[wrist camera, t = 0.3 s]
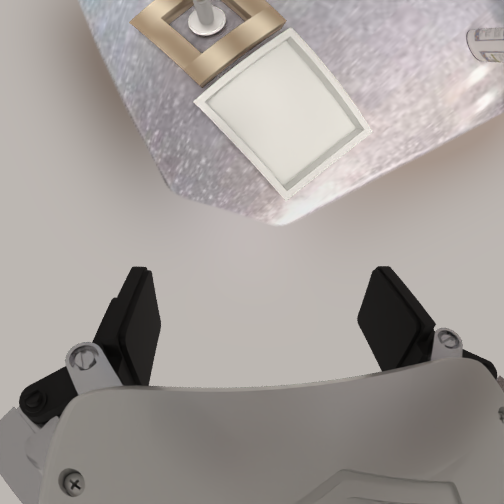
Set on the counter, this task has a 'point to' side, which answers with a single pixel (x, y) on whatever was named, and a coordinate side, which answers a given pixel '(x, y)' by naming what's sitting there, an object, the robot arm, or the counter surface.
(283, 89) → the tray
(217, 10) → the screw
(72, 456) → the robot arm
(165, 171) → the counter surface
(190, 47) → the holder
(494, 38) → the bath foam
